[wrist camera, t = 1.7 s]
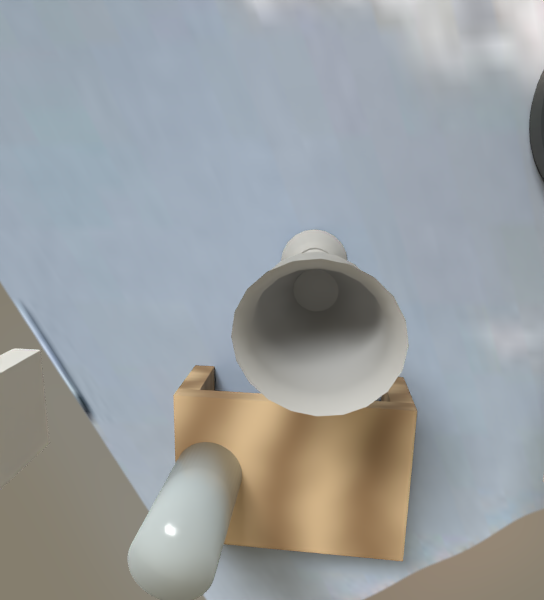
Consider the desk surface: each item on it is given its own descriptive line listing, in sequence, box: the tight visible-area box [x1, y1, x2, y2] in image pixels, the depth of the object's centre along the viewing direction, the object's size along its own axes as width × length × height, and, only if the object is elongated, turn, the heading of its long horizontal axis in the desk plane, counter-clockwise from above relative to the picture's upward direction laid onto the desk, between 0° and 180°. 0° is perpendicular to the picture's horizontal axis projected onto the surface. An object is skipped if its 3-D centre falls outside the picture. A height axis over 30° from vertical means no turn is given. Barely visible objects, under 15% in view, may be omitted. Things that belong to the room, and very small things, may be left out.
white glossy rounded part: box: [128, 442, 242, 600], centre depth 31 cm, size 5×5×9 cm
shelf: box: [174, 365, 417, 561], centre depth 38 cm, size 17×12×6 cm
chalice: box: [231, 230, 409, 416], centre depth 29 cm, size 7×7×18 cm
